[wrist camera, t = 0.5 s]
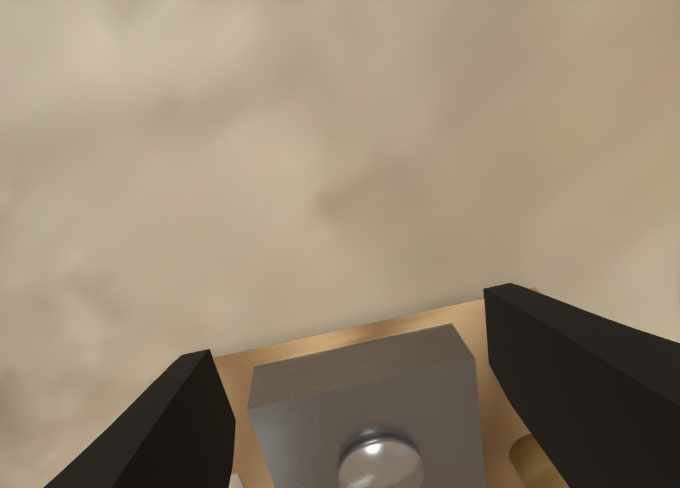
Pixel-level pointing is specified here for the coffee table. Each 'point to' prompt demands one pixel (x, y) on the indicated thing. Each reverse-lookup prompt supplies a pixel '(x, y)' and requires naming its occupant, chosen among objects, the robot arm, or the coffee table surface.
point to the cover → (372, 415)
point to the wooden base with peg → (468, 319)
